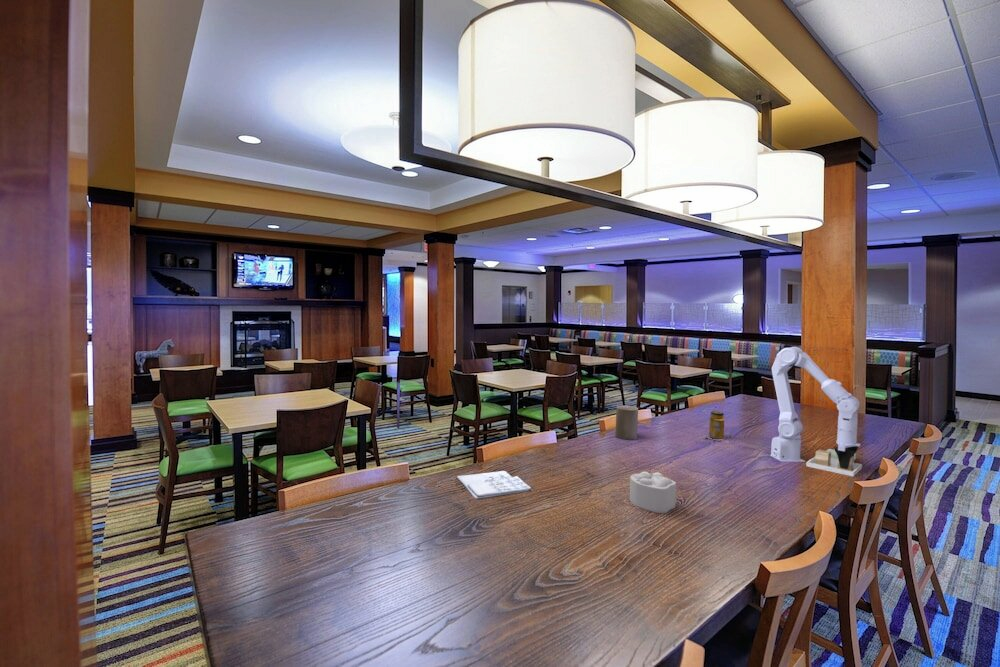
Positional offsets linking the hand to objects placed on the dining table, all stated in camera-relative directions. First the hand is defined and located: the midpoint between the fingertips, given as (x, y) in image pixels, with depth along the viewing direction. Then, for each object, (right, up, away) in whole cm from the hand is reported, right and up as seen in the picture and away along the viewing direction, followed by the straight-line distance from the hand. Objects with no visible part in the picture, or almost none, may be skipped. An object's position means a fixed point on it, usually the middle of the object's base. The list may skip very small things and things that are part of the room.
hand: (845, 466), depth 173 cm
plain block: (-5, -1, +5) cm, 7 cm away
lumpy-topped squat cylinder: (-81, -3, -30) cm, 86 cm away
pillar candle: (-68, +1, +44) cm, 81 cm away
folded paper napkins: (-129, -2, -15) cm, 130 cm away
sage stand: (+7, -1, +13) cm, 15 cm away
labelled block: (0, -1, 0) cm, 1 cm away
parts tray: (-2, -1, +3) cm, 4 cm away
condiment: (-28, 0, +43) cm, 51 cm away
